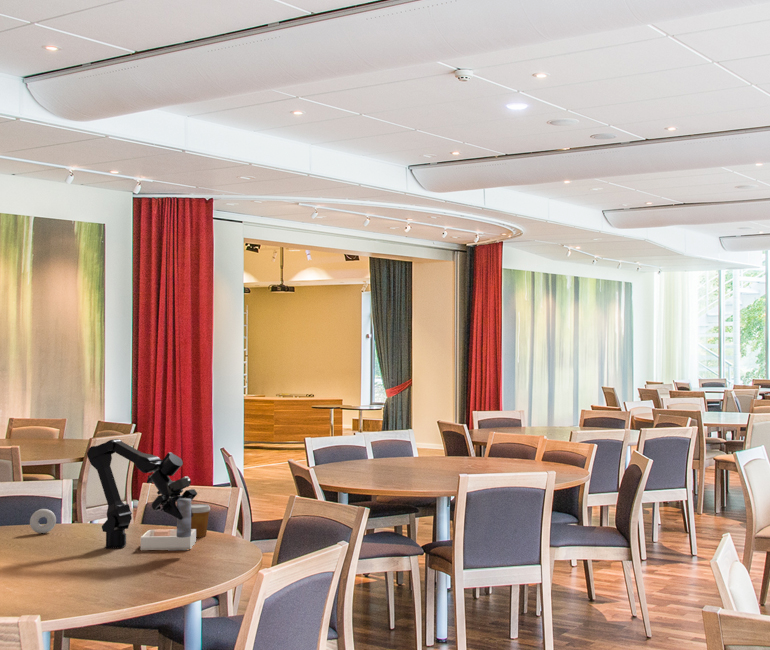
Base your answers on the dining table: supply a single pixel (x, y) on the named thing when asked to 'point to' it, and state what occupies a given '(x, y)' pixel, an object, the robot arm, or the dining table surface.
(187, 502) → the slate peg
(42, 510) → the donut
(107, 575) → the dining table surface
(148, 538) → the tote
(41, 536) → the dining table surface
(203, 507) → the disposable coffee cup
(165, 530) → the terracotta cube
